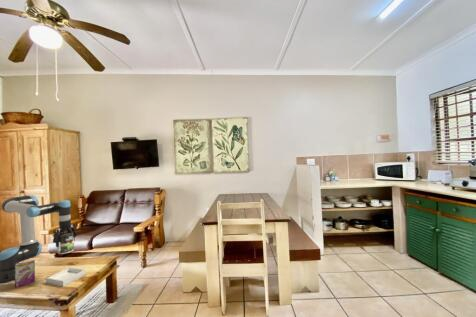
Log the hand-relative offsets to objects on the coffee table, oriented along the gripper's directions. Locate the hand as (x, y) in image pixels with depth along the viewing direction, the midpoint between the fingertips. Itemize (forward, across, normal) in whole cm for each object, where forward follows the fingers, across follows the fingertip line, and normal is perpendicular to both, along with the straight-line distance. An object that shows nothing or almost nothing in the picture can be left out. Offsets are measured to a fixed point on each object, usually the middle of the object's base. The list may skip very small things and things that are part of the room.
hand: (65, 247), depth 179 cm
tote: (+25, 0, 0) cm, 25 cm away
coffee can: (+3, 0, 0) cm, 3 cm away
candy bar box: (+25, -13, +25) cm, 38 cm away
